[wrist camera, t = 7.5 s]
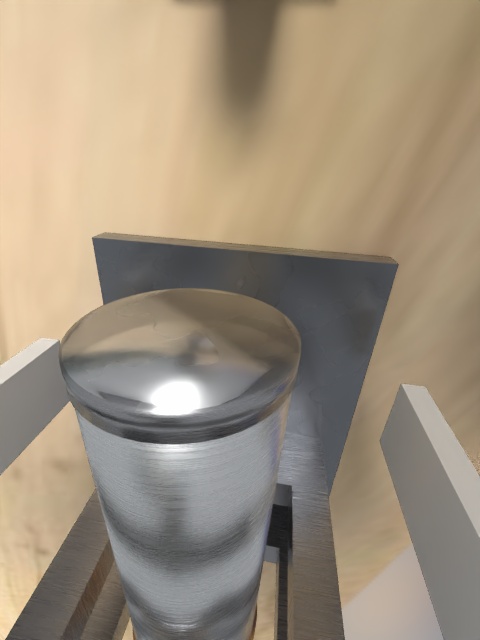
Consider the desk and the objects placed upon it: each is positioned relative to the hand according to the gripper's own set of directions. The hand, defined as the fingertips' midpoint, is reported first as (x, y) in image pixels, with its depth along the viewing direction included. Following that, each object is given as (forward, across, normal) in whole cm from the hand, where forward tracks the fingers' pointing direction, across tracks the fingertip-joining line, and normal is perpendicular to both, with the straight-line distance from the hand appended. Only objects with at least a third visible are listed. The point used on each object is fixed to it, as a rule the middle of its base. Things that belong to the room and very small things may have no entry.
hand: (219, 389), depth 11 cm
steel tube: (-1, 0, -5) cm, 5 cm away
